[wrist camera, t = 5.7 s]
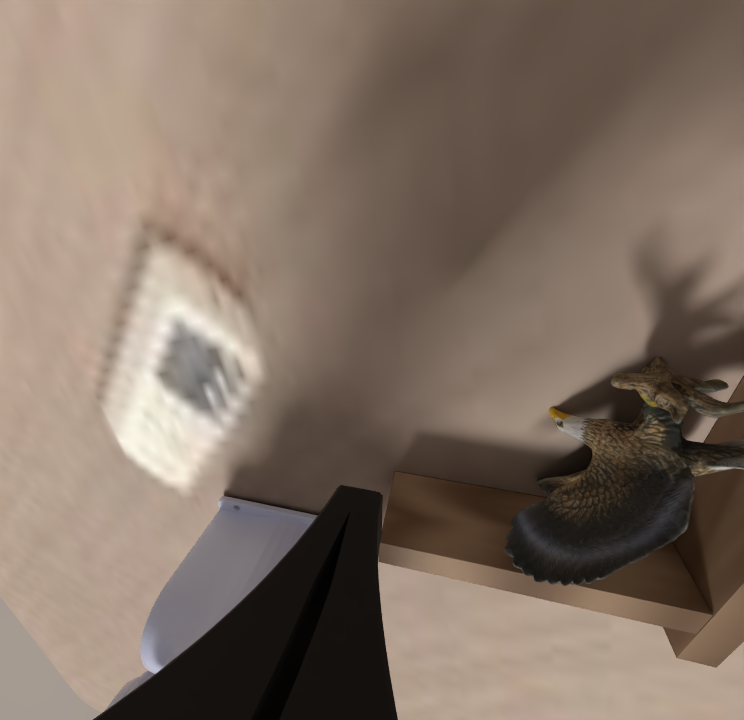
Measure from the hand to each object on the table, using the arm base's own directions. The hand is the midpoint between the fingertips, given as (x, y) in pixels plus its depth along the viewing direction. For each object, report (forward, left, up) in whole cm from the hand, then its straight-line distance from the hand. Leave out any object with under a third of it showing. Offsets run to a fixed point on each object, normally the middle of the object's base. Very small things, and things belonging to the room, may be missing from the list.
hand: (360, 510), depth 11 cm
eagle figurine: (+9, -1, -8) cm, 12 cm away
